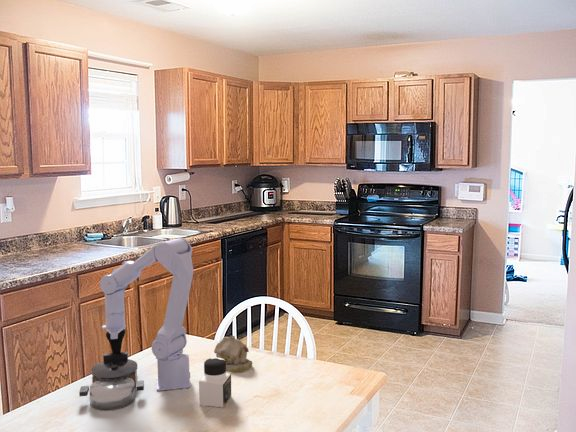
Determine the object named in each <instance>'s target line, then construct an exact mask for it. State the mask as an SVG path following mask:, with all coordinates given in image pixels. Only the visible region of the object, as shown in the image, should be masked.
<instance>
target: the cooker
mask: <svg viewBox="0 0 576 432" xmlns="http://www.w3.org/2000/svg"><path fill="white" fill-rule="evenodd" d="M134 361H135V362H136V363H137V361H136V360H134ZM137 378H138V369H137V370H136V372H134V373H133V374H131V375H129V376H126V377H123V378H118V379H99V378H96V377H94V376H93V375H92V377H91V379H92V380H91V382H92V383H91V385H81V386H80V389H79V393H78V394H79V397H88V394H89V402H90V403H89V404H90V407H91V408H93V409H95V410H99V411H104V412H105V411H115V410H119V409H124V408H126V407H129V406H130V405H131V404H133V403H134V402H135V400H136V391H138V392H139V391H145V380H137Z"/></svg>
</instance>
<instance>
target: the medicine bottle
mask: <svg viewBox="0 0 576 432" xmlns="http://www.w3.org/2000/svg"><path fill="white" fill-rule="evenodd" d="M203 371H204V372H203V373H204V375H203V376H202V377H201V378H200V380H199V381H198V397H199V398H198V399H199V402H198V403H199V406H204V407H214V408H225V406H226V405H227V403H228V402H229V400H230V399H231V397H232V374H231V373H232V372H227V371H226V361H225V360H224V359H222V358H217V357H216V356H214V357H211V358H208V359H205V360H204V363H203Z"/></svg>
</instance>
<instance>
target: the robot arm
mask: <svg viewBox="0 0 576 432" xmlns="http://www.w3.org/2000/svg"><path fill="white" fill-rule="evenodd" d="M193 250H194V249H193V247H192V245H191V243H189V241H188V240H187V239H186V238H184V237H177V238H175V239H170V240H166V241H160V242H158V243H157V244H155V245H153V246H151V248H149V249H148V250H147V251H146V252H145V253H143V254H142V255H140V256H139V258H137V259H136V260H125V261H123V262H122V263H121V266H119V267H118V268H115V269H113V270H112V272H111V273H110V274H104V275H103V276H102V277H101V278H100V281H99V288H100V290H101V291H102V293H104V309H105V311H104V314H105V324H104V325H102V326H101V329H102V330H106V333H105V337H106V339H107V340H108V342H109V345H110V348H111V353H118V352H122V344H123V340H124V337H125V335H126V327H127V325H126V314H125V312H126V308H125V294H126V290H127V287H128V285H130V284H131V283H133V282H134V281H135V280H137V279H138V278H139V277H141V275H142V270H144V269H146V268H147V267H149V266H151V265H152V264H154V263H157V262H158V263H159V264H160V265H162V266H163V268H164V269H166V270H167V271H168V272H169V273H170V274H172V275H173V276H172V280H171V285H170V292H169V295H168V300H167V305H166V310H165V315H164V318H163V319H164V320H163V325H162V326H161V327H160V329H159V330H158V332H157V333H156V335H155V339H154V340H153V341H152V343H151V352H152V354H153V355H154V357H155V359H156V360H157V361H156V362H157V378H156V391H157V392H158V391H168V390H169V391H170V390H179V389H187V388H188V389H189V388H191V386H190V385H191V383H190V379H191V372H190V357H189V353H184V348H186V346H187V329H186V328H185V327H184V326H183V324H184V318H185V315H186V314H185V313H186V311H187V306H188V301H189V296H190V291H191V286H192V281H193V277H194V271H195V270H194V265H193V260H192V254H193Z"/></svg>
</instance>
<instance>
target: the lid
mask: <svg viewBox="0 0 576 432" xmlns="http://www.w3.org/2000/svg"><path fill="white" fill-rule="evenodd" d="M135 361H136V360H133V359H129V352H128V351H121V352H118V353H112V352H109V353H103V361H101V362H98V363H96V364H95V365H93V366H92V367H91V369H90V370H91V371H90V372H91V375H92V377H93V376H94V377H96V378H99V379H118V378H123V377H126V376H129V375H131V374H133V373H134V372H136V370H137V371H138V362H137V361H136V362H135Z"/></svg>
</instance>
